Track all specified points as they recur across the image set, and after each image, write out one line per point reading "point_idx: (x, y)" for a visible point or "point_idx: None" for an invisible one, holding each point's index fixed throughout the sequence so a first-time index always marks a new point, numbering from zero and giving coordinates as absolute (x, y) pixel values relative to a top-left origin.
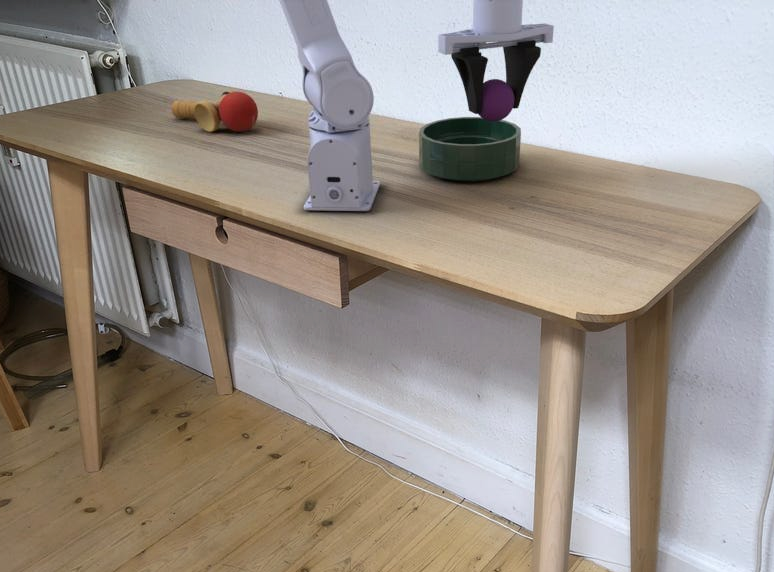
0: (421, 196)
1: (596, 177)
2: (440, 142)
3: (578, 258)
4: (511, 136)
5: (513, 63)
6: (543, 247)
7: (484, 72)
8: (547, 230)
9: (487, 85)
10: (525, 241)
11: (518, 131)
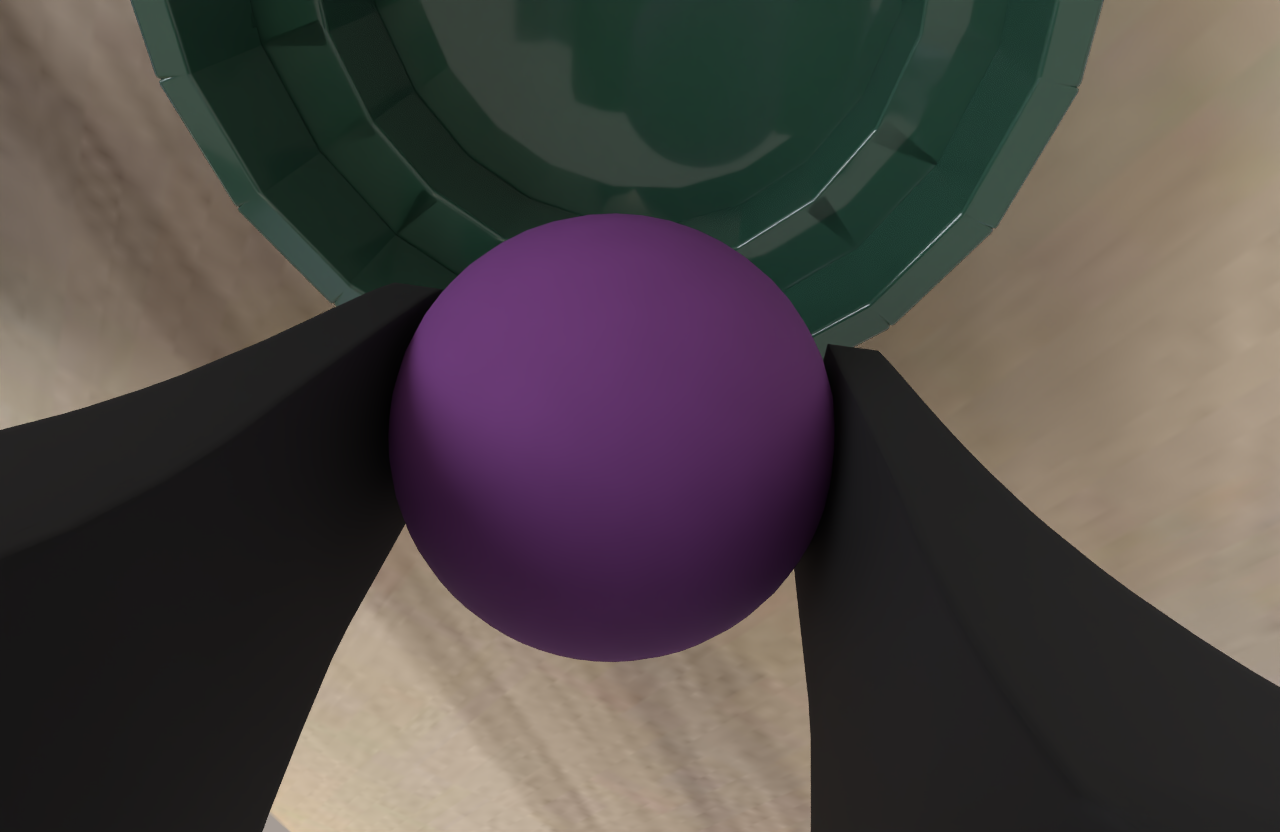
0: (190, 228)
1: (1089, 506)
2: (222, 164)
3: (489, 807)
4: (1001, 70)
5: (865, 818)
6: (442, 744)
7: (257, 826)
8: (516, 696)
9: (450, 583)
10: (416, 705)
11: (906, 289)
